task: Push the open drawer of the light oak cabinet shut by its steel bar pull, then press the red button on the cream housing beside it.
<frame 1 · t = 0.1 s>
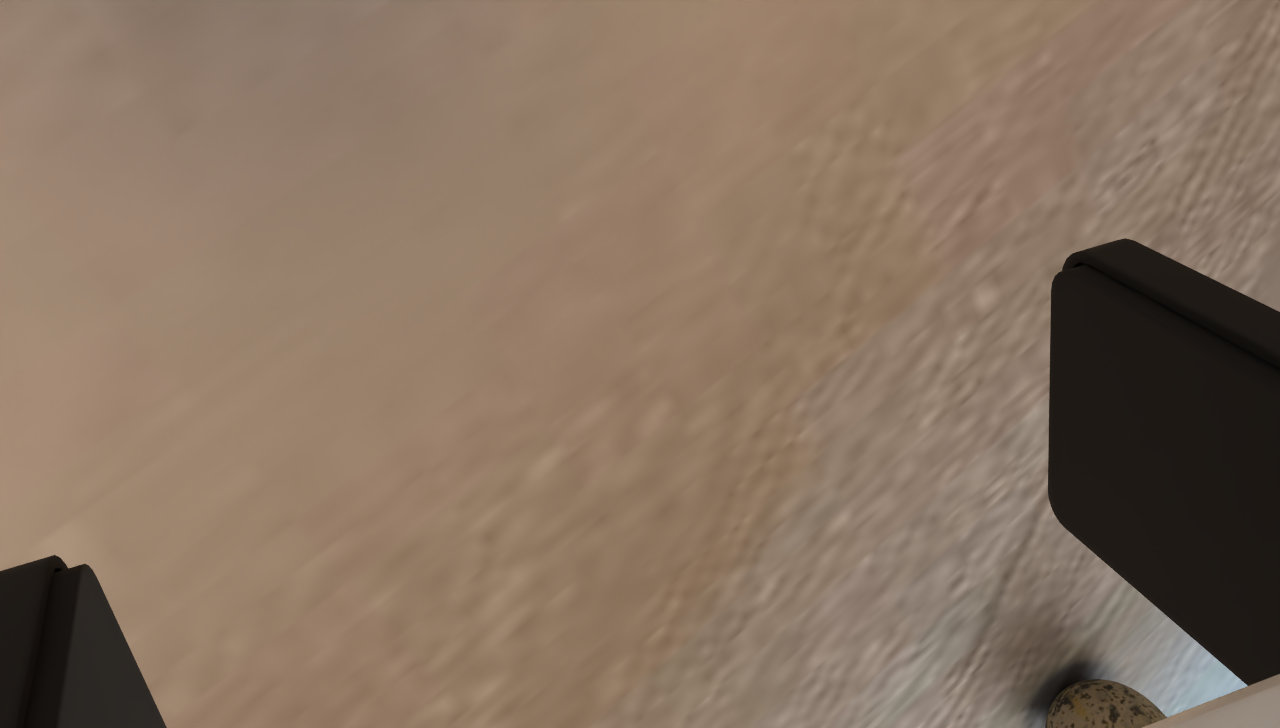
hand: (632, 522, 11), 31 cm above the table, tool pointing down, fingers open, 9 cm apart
decorative egg: (1065, 696, 64), on the table
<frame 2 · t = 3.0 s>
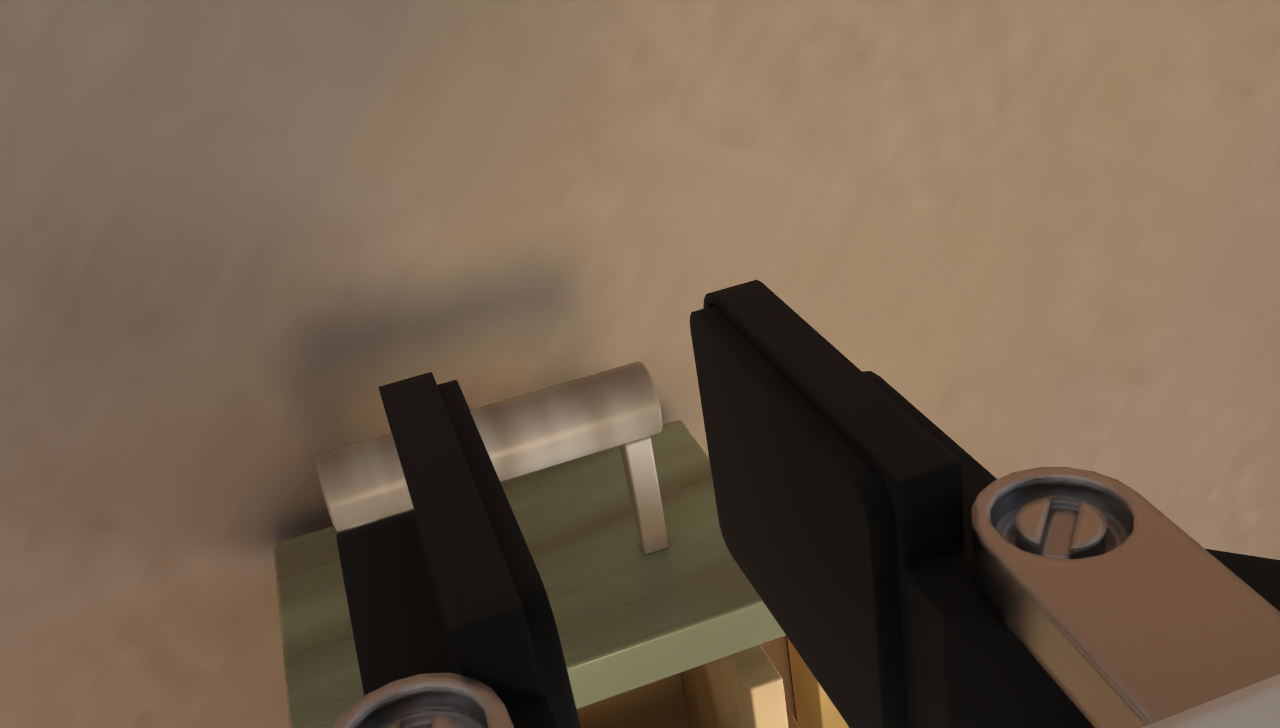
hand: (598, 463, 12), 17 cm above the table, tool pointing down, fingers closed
drawer: (549, 689, 29), point 5 cm above the table, slide at 6.0 cm
button box: (917, 672, 40), on the table
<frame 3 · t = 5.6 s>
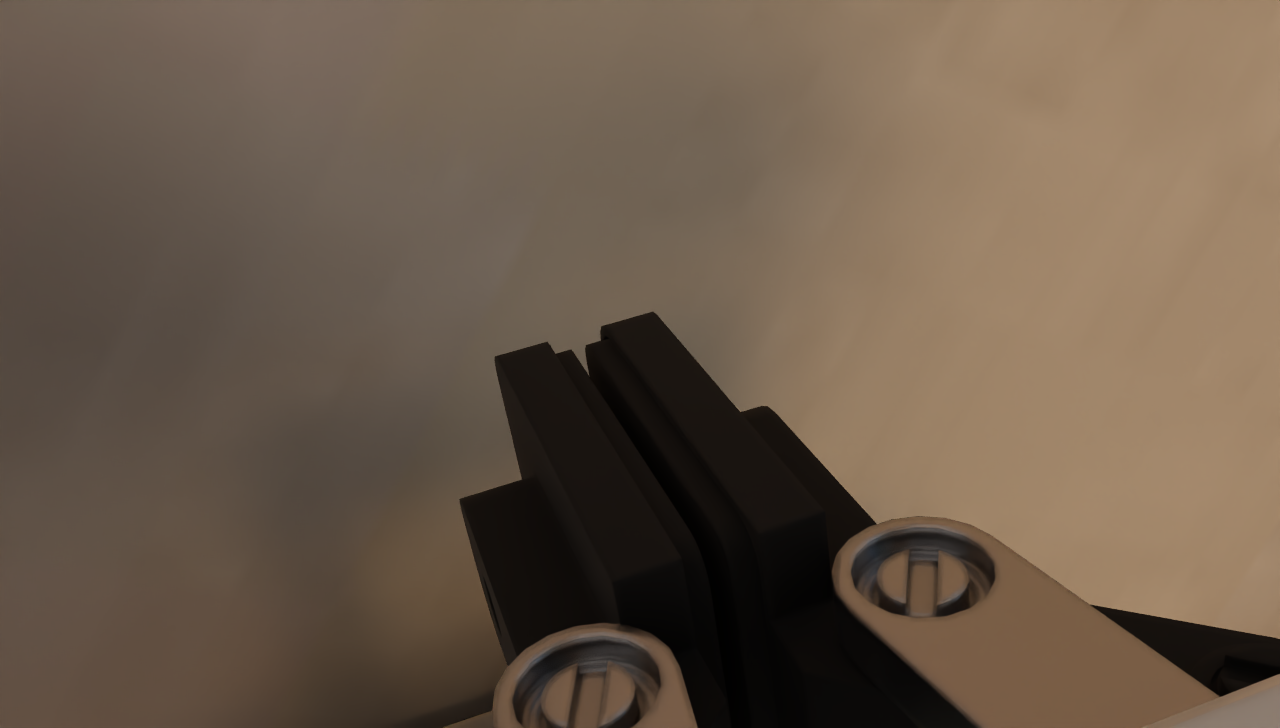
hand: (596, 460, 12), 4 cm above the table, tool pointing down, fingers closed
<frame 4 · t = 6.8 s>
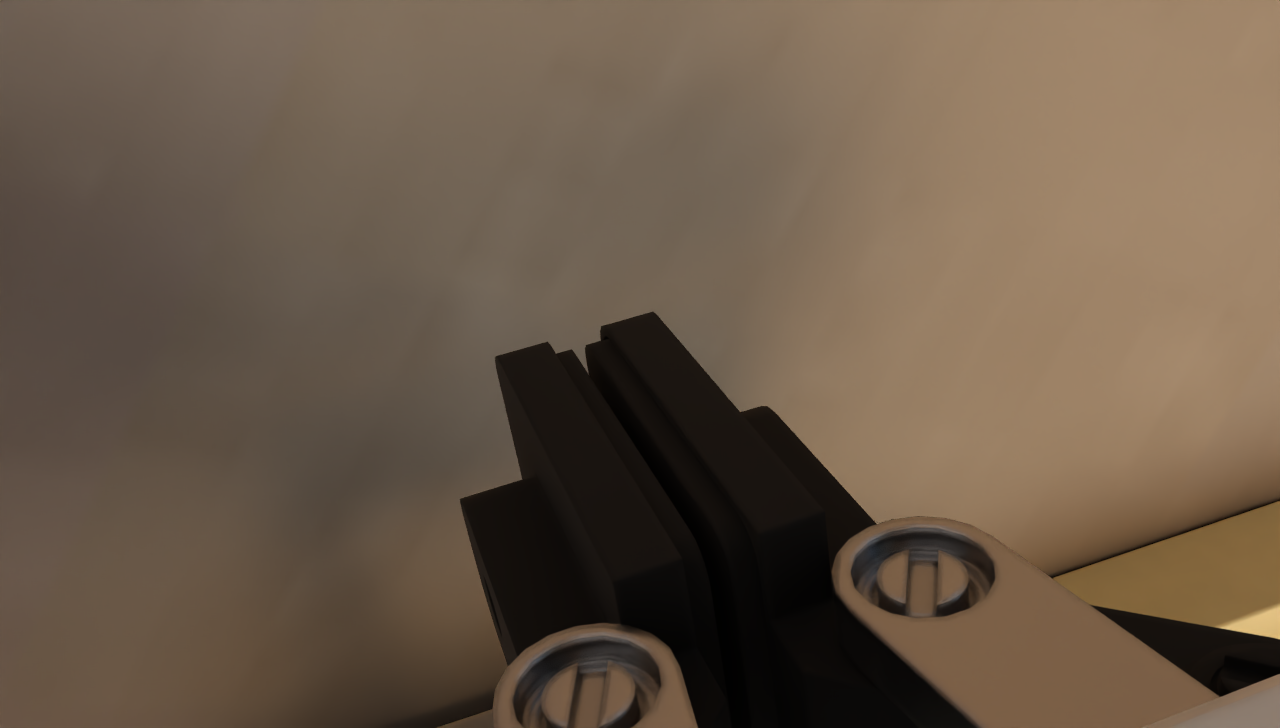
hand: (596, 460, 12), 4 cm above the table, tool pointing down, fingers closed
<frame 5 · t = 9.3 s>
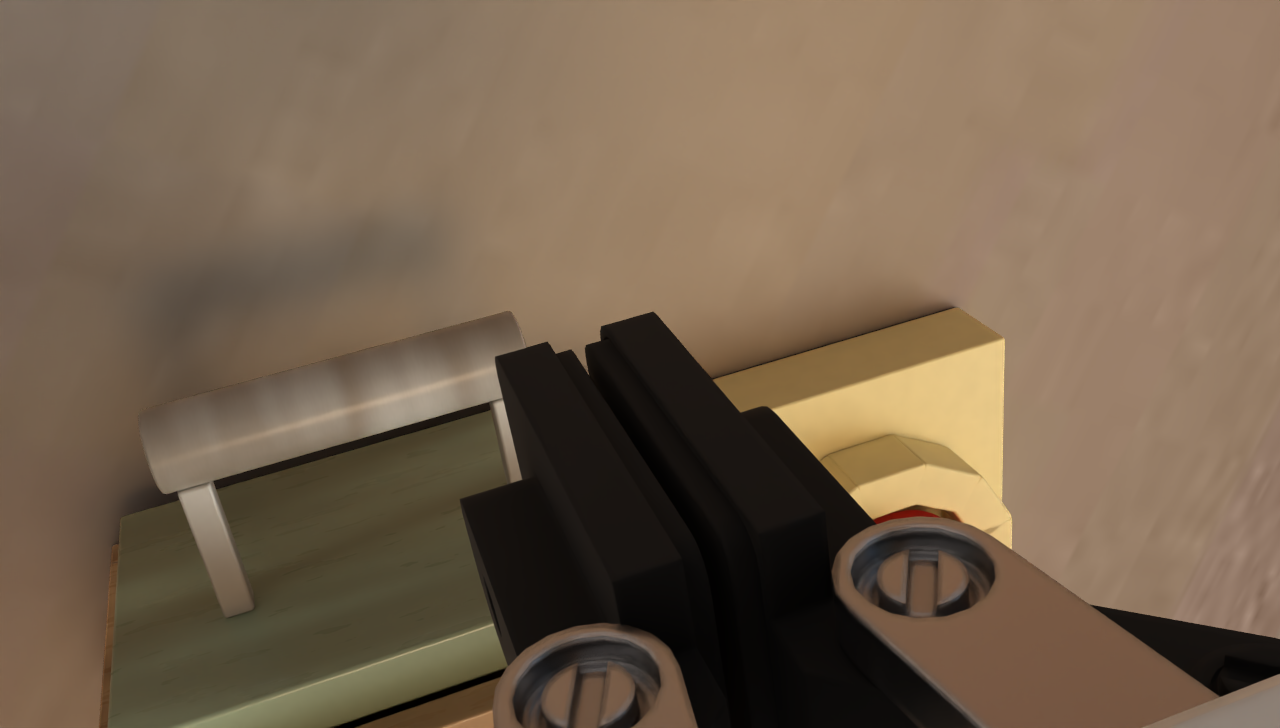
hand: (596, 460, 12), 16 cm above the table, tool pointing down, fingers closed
red button: (905, 597, 32), point 4 cm above the table, slide at 0.1 cm
drawer: (422, 675, 27), point 5 cm above the table, slide at 0.0 cm, touching cabinet
button box: (826, 510, 36), on the table
cabinet: (422, 675, 33), on the table
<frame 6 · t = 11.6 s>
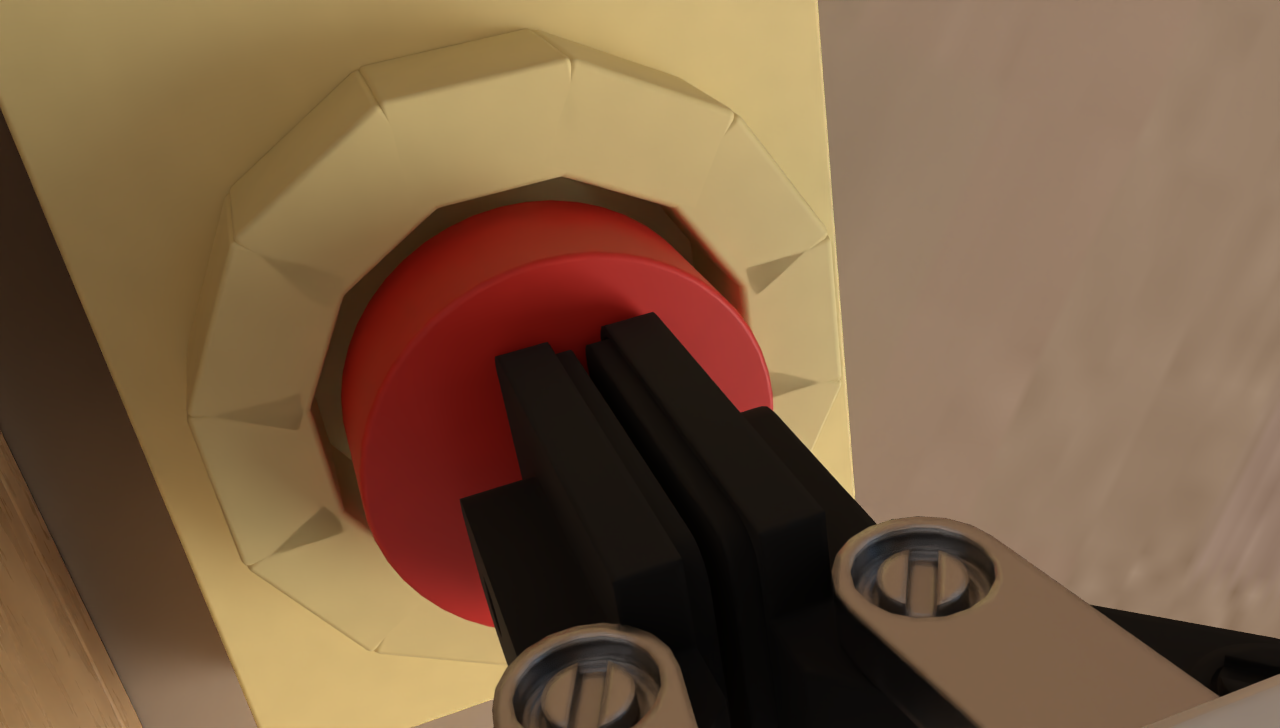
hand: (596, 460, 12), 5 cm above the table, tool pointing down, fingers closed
red button: (556, 417, 13), point 4 cm above the table, slide at 0.1 cm, touching gripper
button box: (474, 273, 17), on the table
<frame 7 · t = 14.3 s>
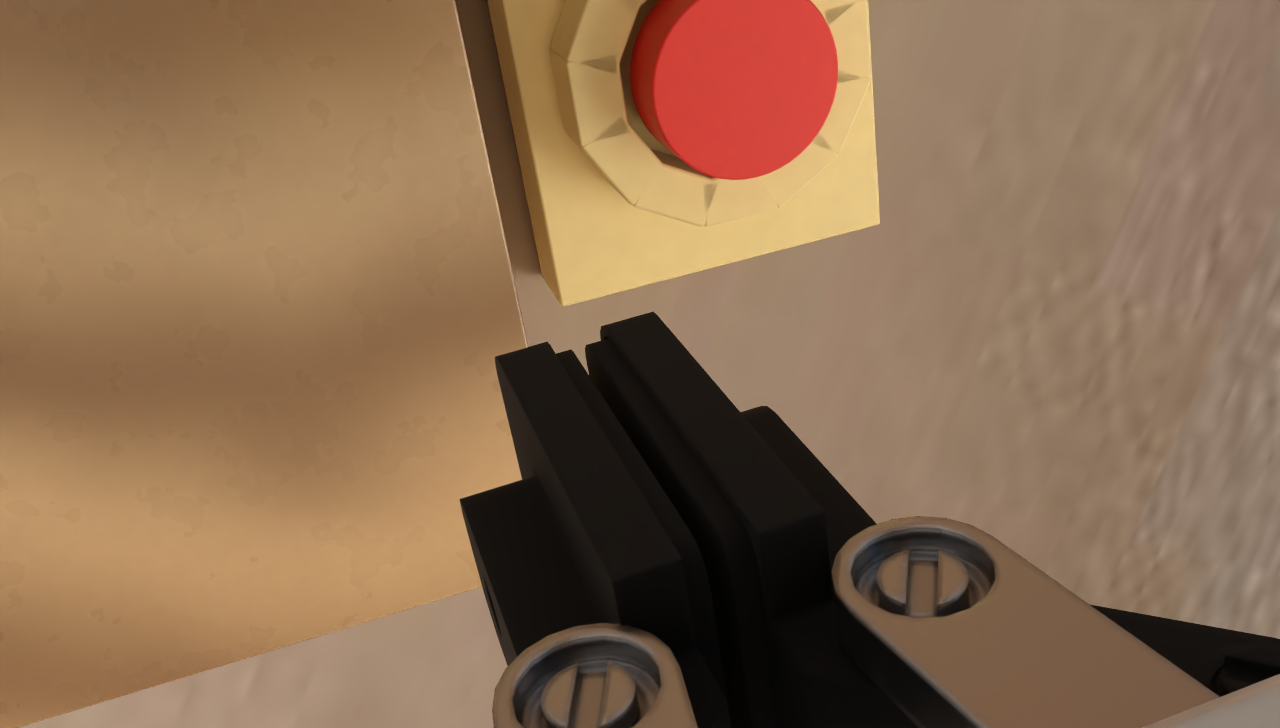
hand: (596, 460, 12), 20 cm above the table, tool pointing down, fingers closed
red button: (733, 75, 27), point 4 cm above the table, slide at 0.1 cm
button box: (670, 40, 31), on the table
cabinet: (189, 188, 29), on the table
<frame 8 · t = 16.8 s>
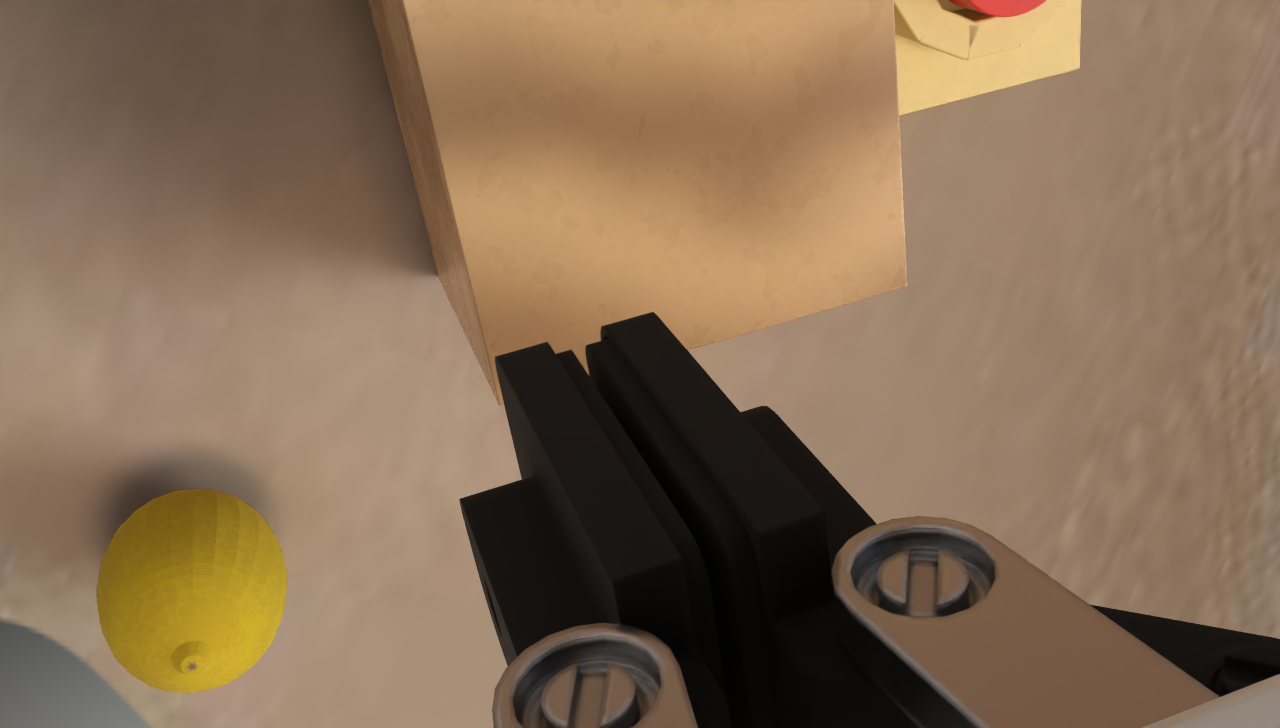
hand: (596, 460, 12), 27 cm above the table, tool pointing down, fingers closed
cabinet: (575, 34, 38), on the table
lemon: (194, 515, 41), on the table
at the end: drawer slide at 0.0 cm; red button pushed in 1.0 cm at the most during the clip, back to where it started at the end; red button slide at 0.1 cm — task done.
